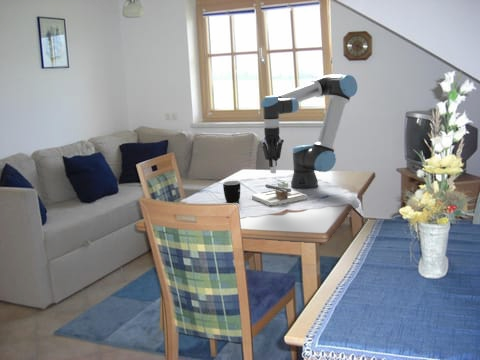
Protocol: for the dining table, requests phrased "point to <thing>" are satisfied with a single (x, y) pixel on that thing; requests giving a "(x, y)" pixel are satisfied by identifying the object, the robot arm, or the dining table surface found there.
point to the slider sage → (283, 184)
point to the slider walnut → (282, 194)
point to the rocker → (277, 187)
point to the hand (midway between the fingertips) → (273, 172)
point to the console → (272, 199)
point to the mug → (232, 191)
